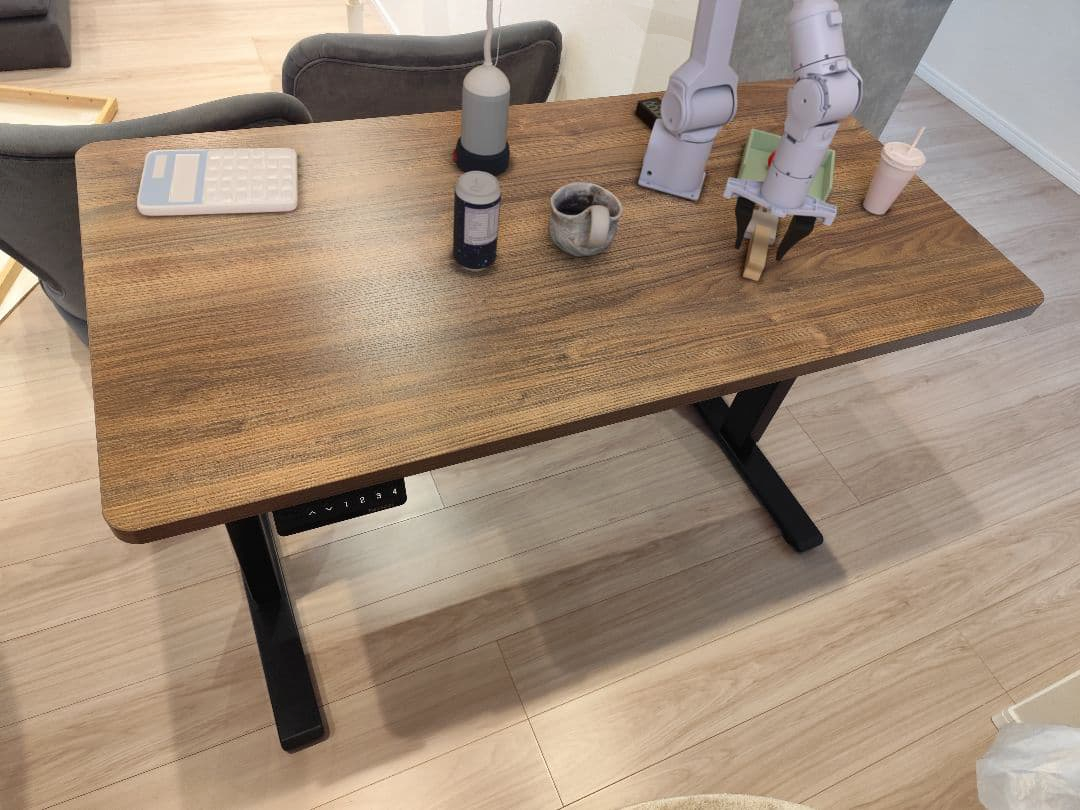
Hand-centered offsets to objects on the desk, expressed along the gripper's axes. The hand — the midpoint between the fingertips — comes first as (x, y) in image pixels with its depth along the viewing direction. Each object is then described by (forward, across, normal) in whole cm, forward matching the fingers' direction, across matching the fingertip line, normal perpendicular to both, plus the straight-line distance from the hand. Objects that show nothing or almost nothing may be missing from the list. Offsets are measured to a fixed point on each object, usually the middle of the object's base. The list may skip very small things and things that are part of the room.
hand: (757, 250), depth 103 cm
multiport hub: (+2, -19, +29) cm, 35 cm away
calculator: (+2, -73, -17) cm, 75 cm away
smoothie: (+2, +17, +22) cm, 28 cm away
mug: (+2, -23, -9) cm, 25 cm away
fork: (+2, 0, +4) cm, 4 cm away
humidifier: (+2, -43, +5) cm, 43 cm away
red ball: (0, +1, +24) cm, 24 cm away
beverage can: (+2, -36, -17) cm, 40 cm away
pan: (+2, +2, +29) cm, 29 cm away
